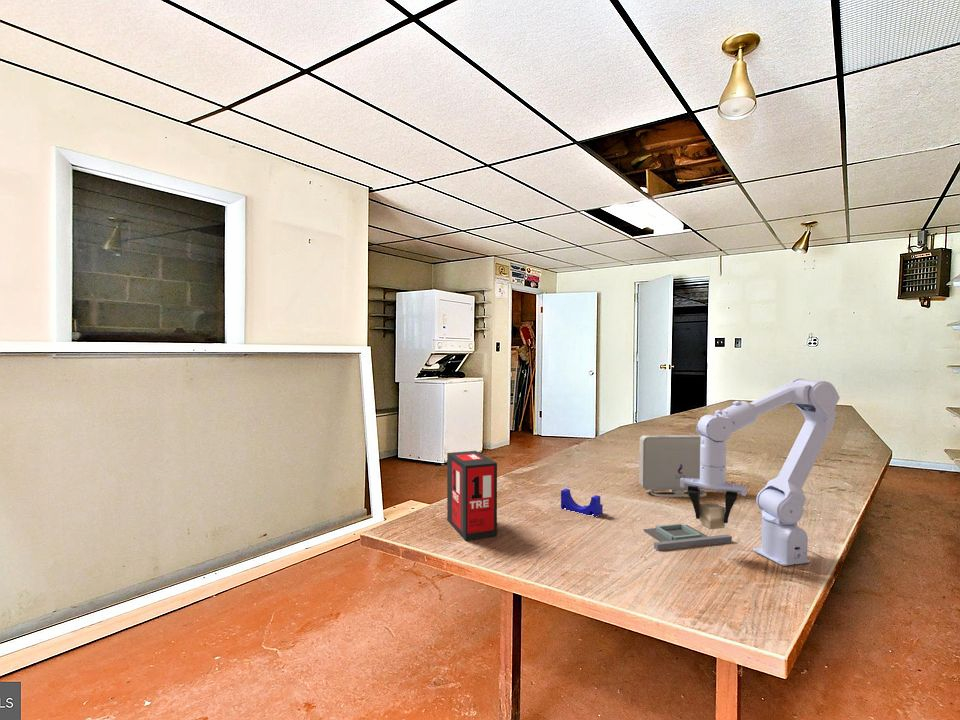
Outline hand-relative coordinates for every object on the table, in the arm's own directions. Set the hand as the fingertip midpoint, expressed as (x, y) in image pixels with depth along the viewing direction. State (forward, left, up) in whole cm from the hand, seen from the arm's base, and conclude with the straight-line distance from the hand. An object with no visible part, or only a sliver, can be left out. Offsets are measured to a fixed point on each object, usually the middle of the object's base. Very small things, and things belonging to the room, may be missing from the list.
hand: (711, 519), depth 123 cm
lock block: (0, 0, -1) cm, 1 cm away
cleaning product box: (+32, +53, -9) cm, 63 cm away
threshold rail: (+7, 0, -9) cm, 11 cm away
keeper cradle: (+13, 0, -9) cm, 16 cm away
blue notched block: (+38, +17, -9) cm, 42 cm away
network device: (+47, -24, -9) cm, 54 cm away
